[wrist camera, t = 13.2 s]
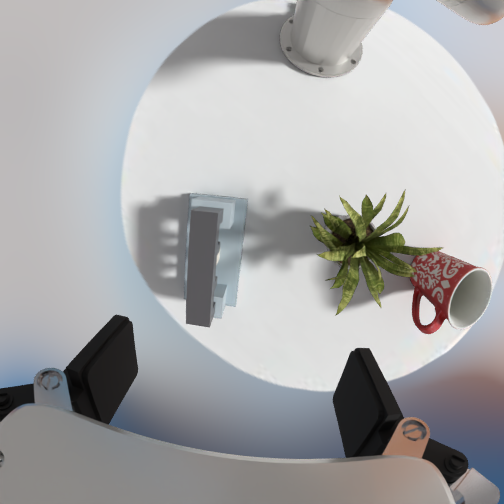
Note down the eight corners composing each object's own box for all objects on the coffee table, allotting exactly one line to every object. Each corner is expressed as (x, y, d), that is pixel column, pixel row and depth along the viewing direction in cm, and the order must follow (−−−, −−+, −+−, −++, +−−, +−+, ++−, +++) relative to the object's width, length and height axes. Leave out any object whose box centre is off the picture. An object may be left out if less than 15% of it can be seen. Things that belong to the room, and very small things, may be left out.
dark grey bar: (199, 206, 33) (191, 210, 29) (223, 208, 33) (218, 213, 29) (193, 309, 37) (186, 323, 33) (214, 312, 37) (209, 327, 33)
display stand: (192, 193, 39) (177, 197, 32) (247, 198, 38) (244, 203, 32) (186, 295, 43) (173, 315, 36) (236, 302, 43) (231, 325, 36)
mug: (432, 231, 38) (483, 253, 25) (452, 268, 40) (498, 297, 27) (380, 282, 41) (418, 322, 28) (404, 316, 42) (440, 358, 29)
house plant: (379, 169, 36) (441, 170, 21) (396, 256, 40) (454, 297, 24) (288, 195, 38) (305, 208, 22) (314, 283, 41) (339, 343, 26)
